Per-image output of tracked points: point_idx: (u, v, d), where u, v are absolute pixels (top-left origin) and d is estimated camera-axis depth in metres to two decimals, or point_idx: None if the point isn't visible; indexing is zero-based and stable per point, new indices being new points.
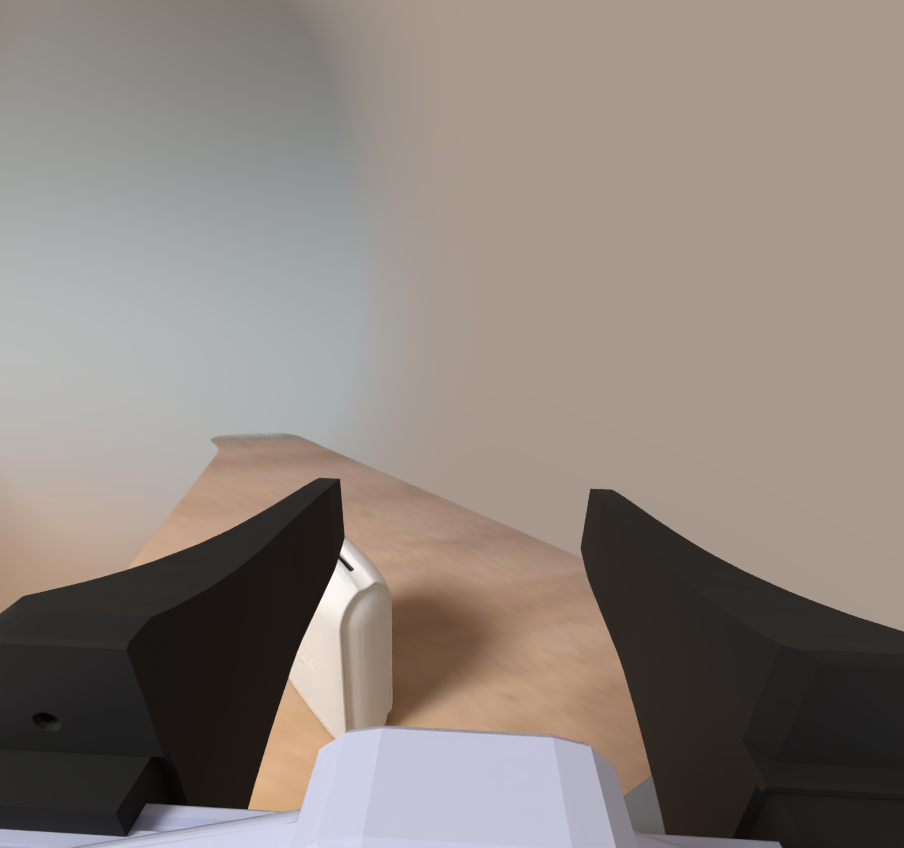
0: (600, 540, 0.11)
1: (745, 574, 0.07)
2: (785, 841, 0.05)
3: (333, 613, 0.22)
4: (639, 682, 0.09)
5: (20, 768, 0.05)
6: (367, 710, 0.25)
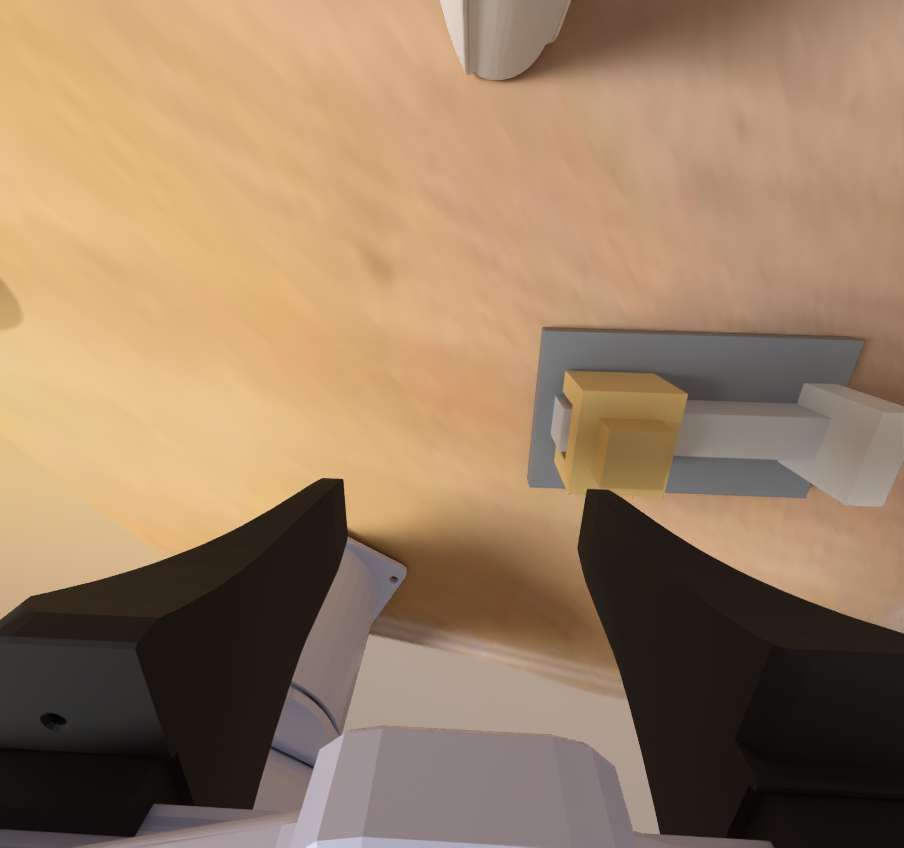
0: (596, 540, 0.11)
1: (740, 574, 0.07)
2: (776, 841, 0.05)
3: None
4: (634, 682, 0.09)
5: (28, 769, 0.05)
6: (505, 46, 0.14)
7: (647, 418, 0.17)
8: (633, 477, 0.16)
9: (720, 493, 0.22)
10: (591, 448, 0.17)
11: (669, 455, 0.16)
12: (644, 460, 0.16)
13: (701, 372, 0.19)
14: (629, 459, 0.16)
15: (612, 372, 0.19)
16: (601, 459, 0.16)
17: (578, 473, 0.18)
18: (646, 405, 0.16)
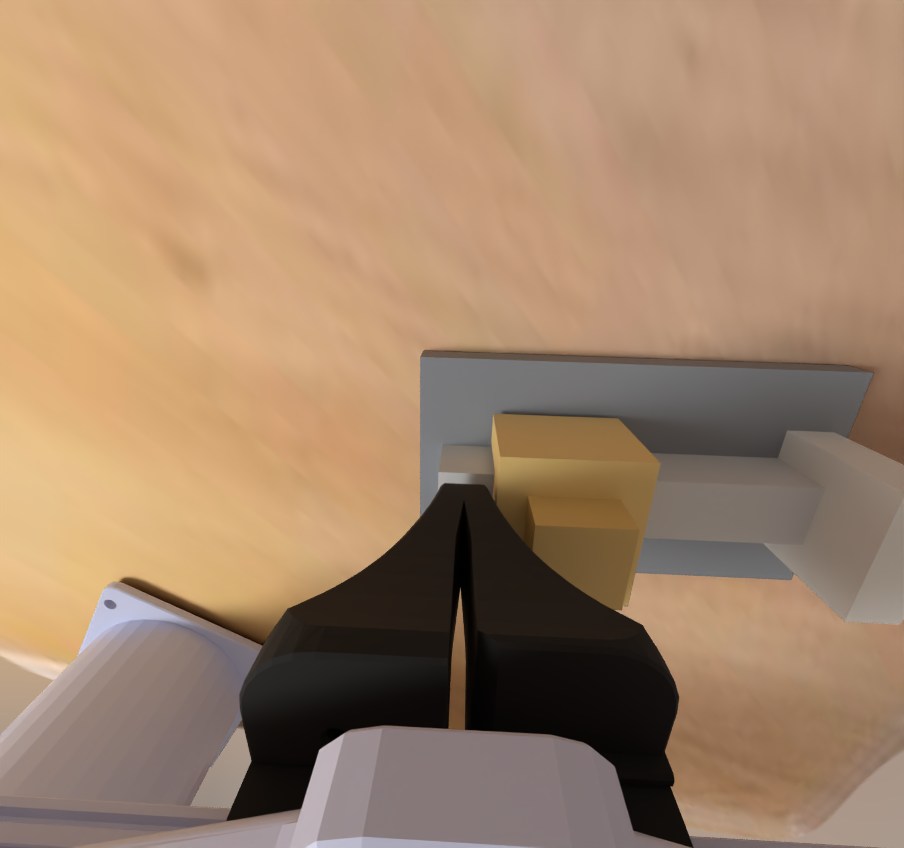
0: (462, 534, 0.11)
1: (542, 565, 0.07)
2: None
3: None
4: (466, 673, 0.09)
5: (304, 784, 0.05)
6: None
7: (600, 497, 0.11)
8: None
9: (676, 572, 0.16)
10: None
11: (630, 562, 0.10)
12: (592, 568, 0.10)
13: (643, 415, 0.14)
14: (568, 567, 0.10)
15: (559, 417, 0.13)
16: None
17: None
18: (597, 479, 0.11)
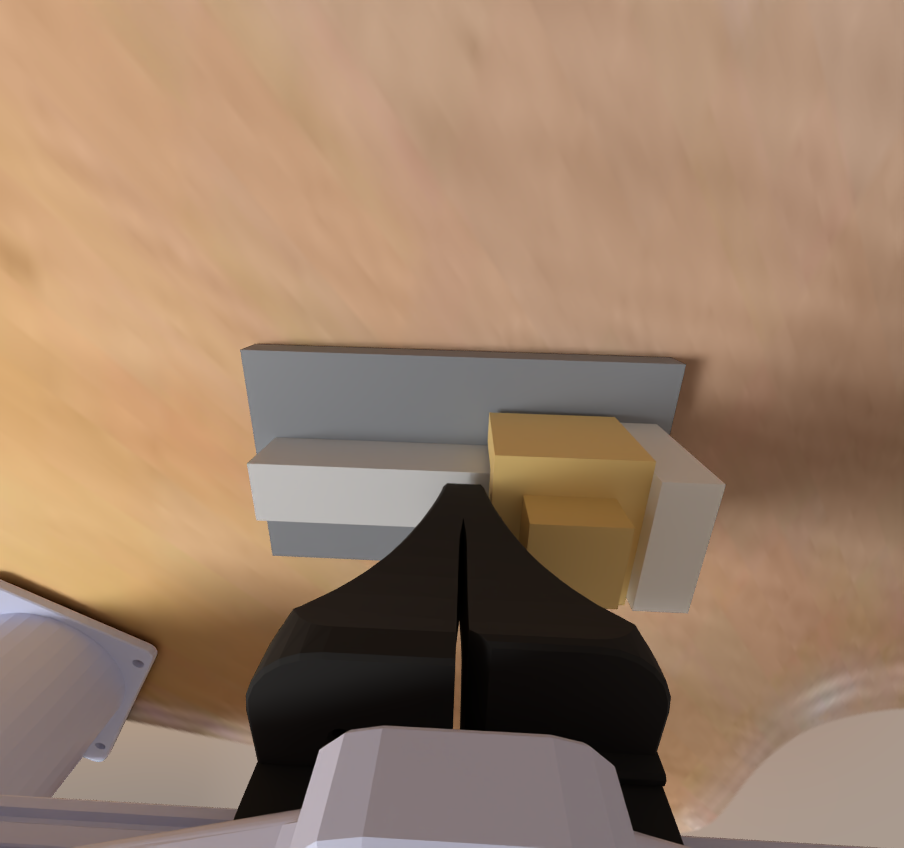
0: None
1: (536, 565, 0.07)
2: None
3: None
4: None
5: None
6: None
7: (596, 495, 0.11)
8: None
9: None
10: None
11: (625, 561, 0.10)
12: (587, 567, 0.10)
13: (466, 407, 0.14)
14: (563, 565, 0.10)
15: (555, 416, 0.13)
16: None
17: None
18: (593, 477, 0.11)
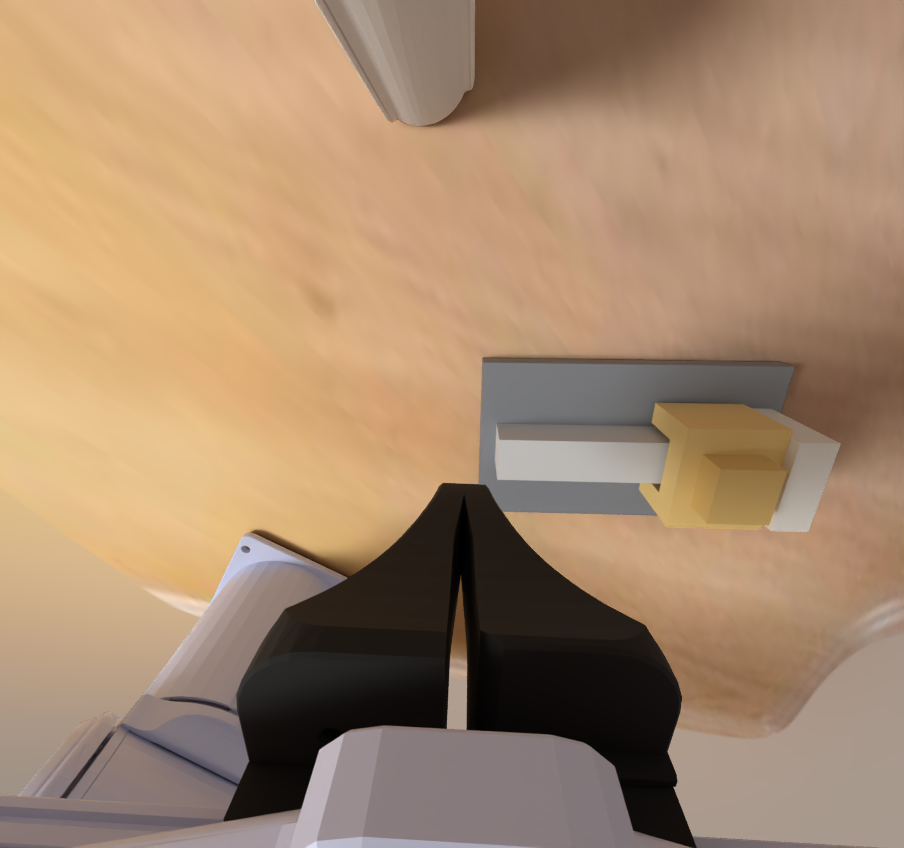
0: (463, 534, 0.11)
1: (543, 565, 0.07)
2: None
3: None
4: (468, 673, 0.09)
5: (300, 784, 0.05)
6: (414, 101, 0.14)
7: (751, 453, 0.17)
8: (741, 513, 0.16)
9: None
10: (693, 483, 0.17)
11: (778, 492, 0.16)
12: (753, 497, 0.16)
13: (637, 399, 0.20)
14: (738, 496, 0.16)
15: (702, 404, 0.19)
16: (708, 496, 0.17)
17: (678, 507, 0.18)
18: (750, 441, 0.17)
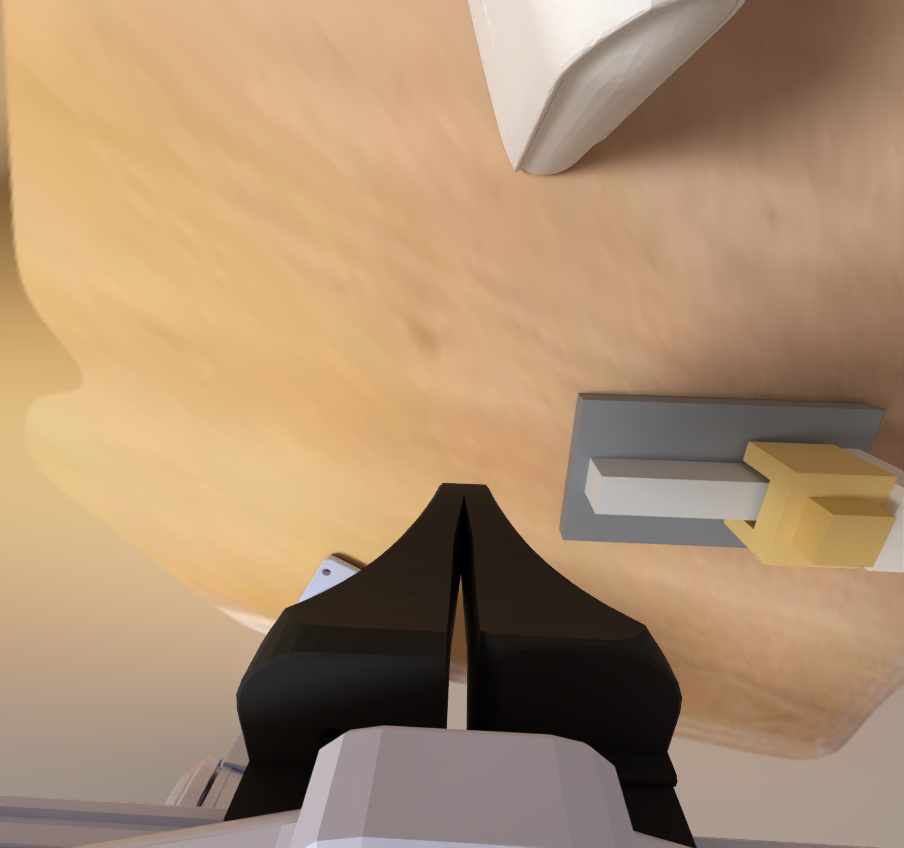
0: (463, 534, 0.11)
1: (544, 565, 0.07)
2: None
3: (558, 34, 0.08)
4: (468, 673, 0.09)
5: (301, 784, 0.05)
6: (558, 160, 0.15)
7: (854, 497, 0.17)
8: (847, 556, 0.17)
9: (745, 546, 0.23)
10: (795, 524, 0.18)
11: (886, 537, 0.17)
12: (861, 540, 0.17)
13: (729, 437, 0.20)
14: (846, 540, 0.17)
15: (795, 444, 0.20)
16: (814, 538, 0.17)
17: (777, 546, 0.18)
18: (855, 486, 0.17)
